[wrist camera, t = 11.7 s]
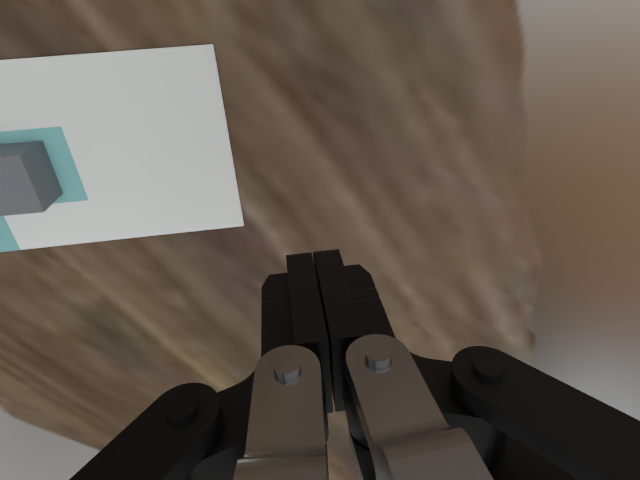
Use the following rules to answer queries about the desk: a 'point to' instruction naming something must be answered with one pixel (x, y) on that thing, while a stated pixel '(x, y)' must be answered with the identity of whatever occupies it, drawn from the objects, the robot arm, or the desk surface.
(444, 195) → the desk surface
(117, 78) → the runner mat
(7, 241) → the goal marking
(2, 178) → the t block
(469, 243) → the desk surface
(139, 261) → the desk surface
